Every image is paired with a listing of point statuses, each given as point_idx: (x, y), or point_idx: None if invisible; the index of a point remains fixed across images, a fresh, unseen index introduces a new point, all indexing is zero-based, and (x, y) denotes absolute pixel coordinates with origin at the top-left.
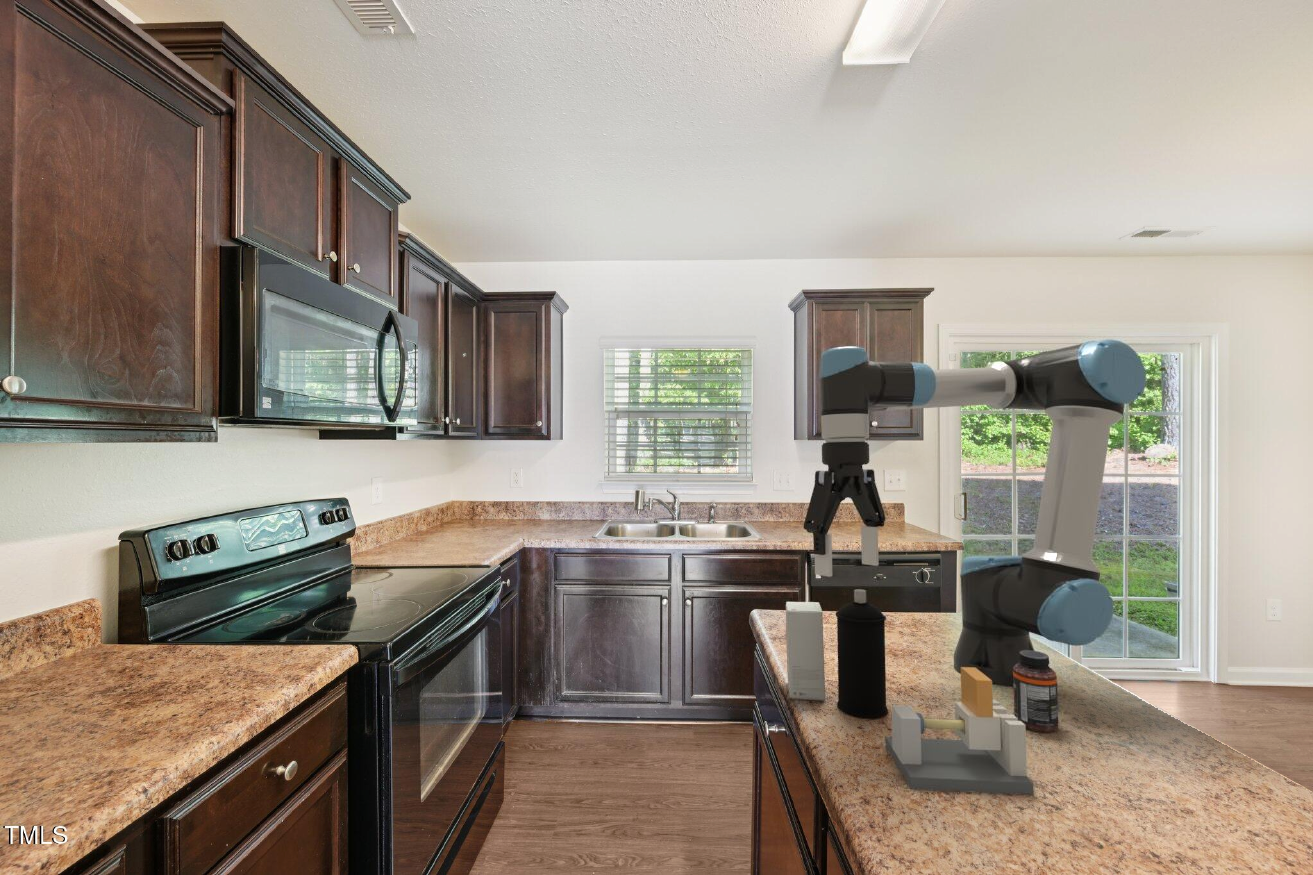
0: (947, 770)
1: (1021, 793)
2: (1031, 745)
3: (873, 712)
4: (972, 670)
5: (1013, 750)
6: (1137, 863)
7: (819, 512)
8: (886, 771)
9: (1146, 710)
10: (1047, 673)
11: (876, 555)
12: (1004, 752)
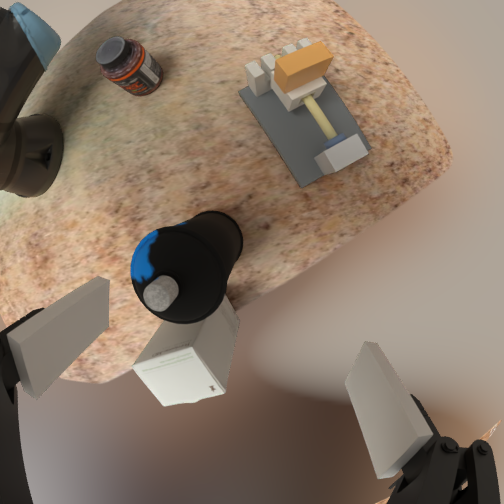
0: (337, 119)
1: None
2: (199, 71)
3: (231, 221)
4: (292, 61)
5: None
6: (355, 20)
7: (496, 492)
8: (350, 175)
9: (73, 40)
10: (131, 41)
11: (88, 291)
12: None
